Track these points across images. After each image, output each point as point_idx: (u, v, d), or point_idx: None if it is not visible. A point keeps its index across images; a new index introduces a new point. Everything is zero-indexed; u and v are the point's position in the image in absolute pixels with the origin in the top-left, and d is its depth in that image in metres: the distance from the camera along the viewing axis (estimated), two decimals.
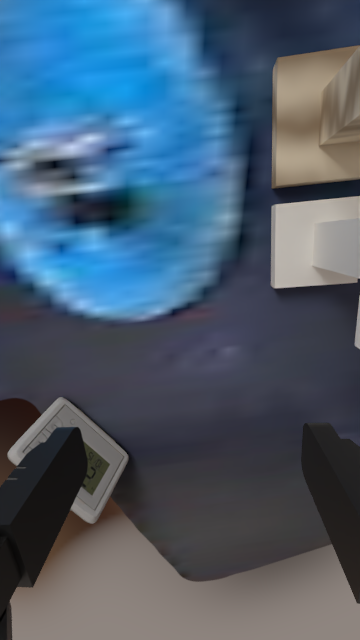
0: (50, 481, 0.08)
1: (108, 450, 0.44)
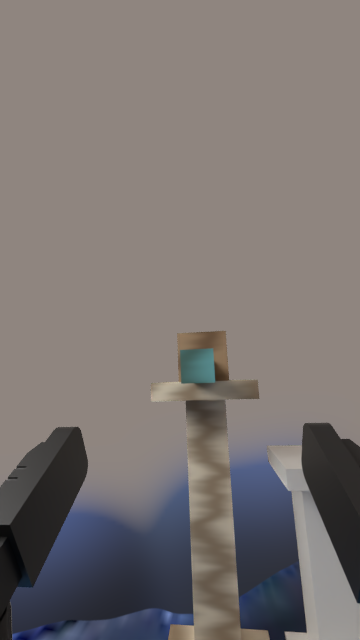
0: (49, 481, 0.08)
1: None
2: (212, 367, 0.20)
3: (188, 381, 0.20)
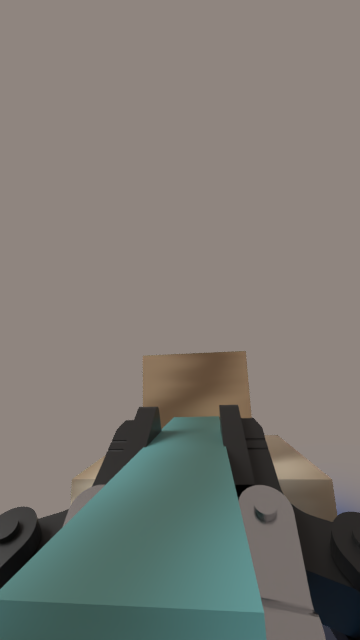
0: None
1: None
2: None
3: None
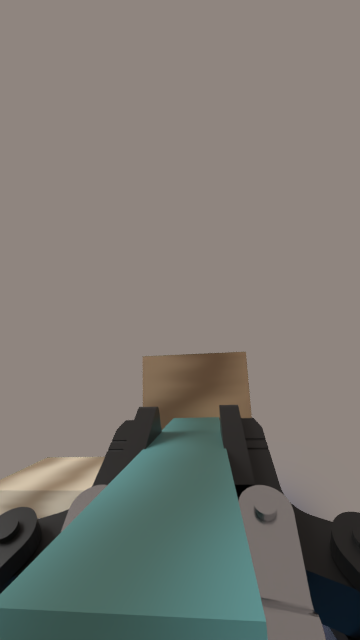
0: None
1: None
2: None
3: None
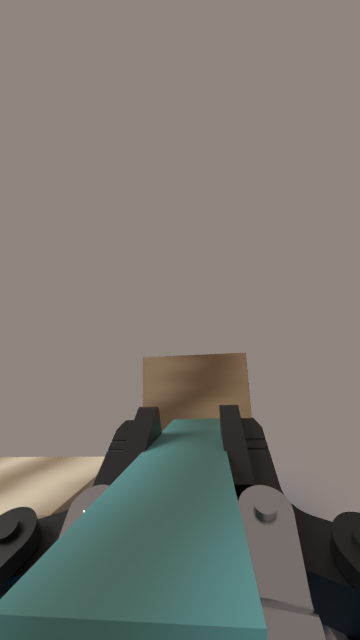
0: None
1: None
2: None
3: None
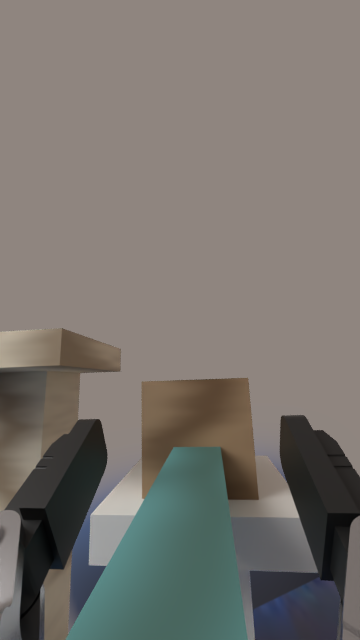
0: (76, 469, 0.08)
1: None
2: None
3: None
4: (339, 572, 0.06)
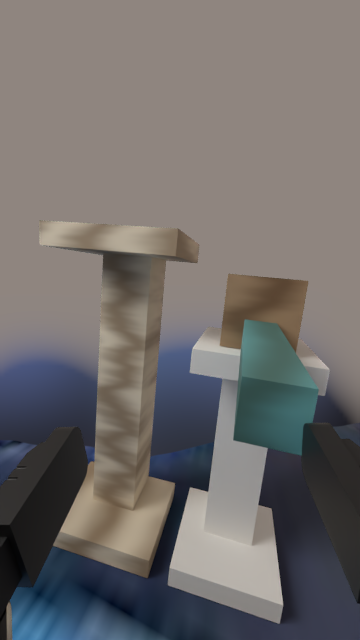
0: (50, 481, 0.08)
1: None
2: None
3: (248, 440, 0.10)
4: None
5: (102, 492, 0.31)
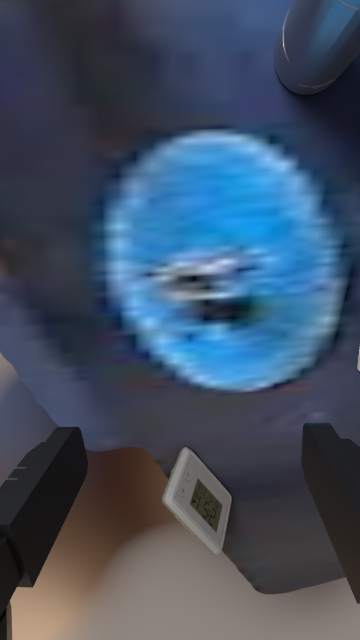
0: (49, 481, 0.08)
1: (220, 493, 0.54)
2: None
3: None
4: None
5: None
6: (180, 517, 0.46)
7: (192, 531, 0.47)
